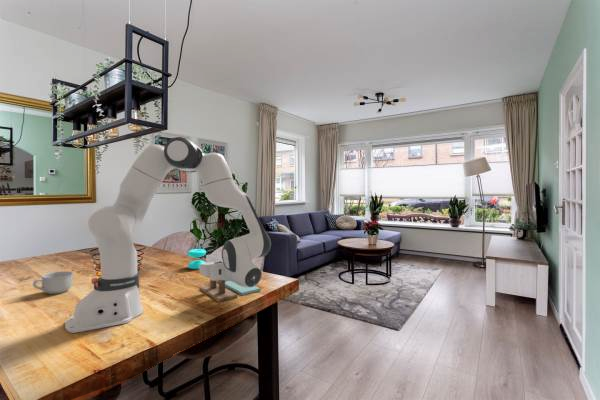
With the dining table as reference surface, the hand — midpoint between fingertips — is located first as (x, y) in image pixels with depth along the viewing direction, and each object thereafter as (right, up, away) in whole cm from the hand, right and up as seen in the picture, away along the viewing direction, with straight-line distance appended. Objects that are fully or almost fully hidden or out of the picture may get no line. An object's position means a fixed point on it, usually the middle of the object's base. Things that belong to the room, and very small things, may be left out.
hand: (217, 262), depth 126 cm
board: (+8, -13, +8) cm, 18 cm away
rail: (0, -2, +1) cm, 2 cm away
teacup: (-72, -14, +2) cm, 73 cm away
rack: (0, -13, +1) cm, 14 cm away
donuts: (-24, -13, +45) cm, 53 cm away
